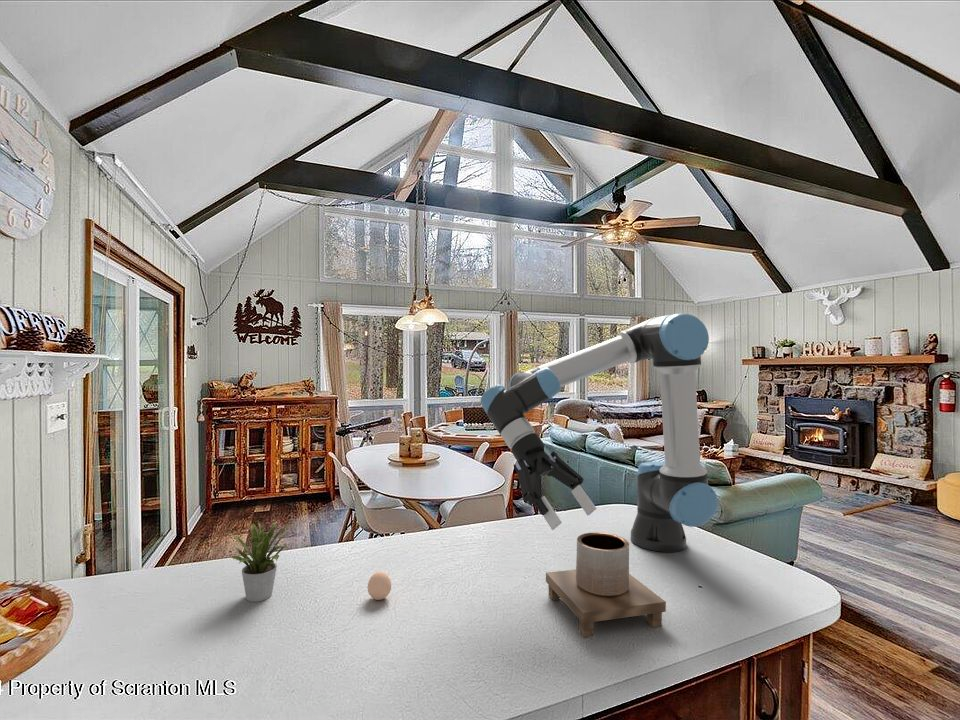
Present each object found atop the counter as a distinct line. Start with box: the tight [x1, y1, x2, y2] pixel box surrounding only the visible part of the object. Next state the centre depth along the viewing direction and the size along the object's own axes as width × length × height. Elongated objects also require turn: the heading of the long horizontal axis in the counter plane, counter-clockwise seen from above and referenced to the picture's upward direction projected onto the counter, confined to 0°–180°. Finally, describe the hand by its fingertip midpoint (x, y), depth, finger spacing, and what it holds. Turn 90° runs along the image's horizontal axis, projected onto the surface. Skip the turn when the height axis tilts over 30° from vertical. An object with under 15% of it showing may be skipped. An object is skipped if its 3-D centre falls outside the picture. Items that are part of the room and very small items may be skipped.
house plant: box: [226, 519, 296, 603], centre depth 110 cm, size 14×14×16 cm
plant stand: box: [545, 568, 667, 638], centre depth 106 cm, size 18×18×5 cm
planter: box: [575, 531, 630, 597], centre depth 106 cm, size 11×11×10 cm
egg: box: [367, 570, 392, 601], centre depth 110 cm, size 5×5×6 cm
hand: (575, 519), depth 110 cm, fingers open, 13 cm apart
